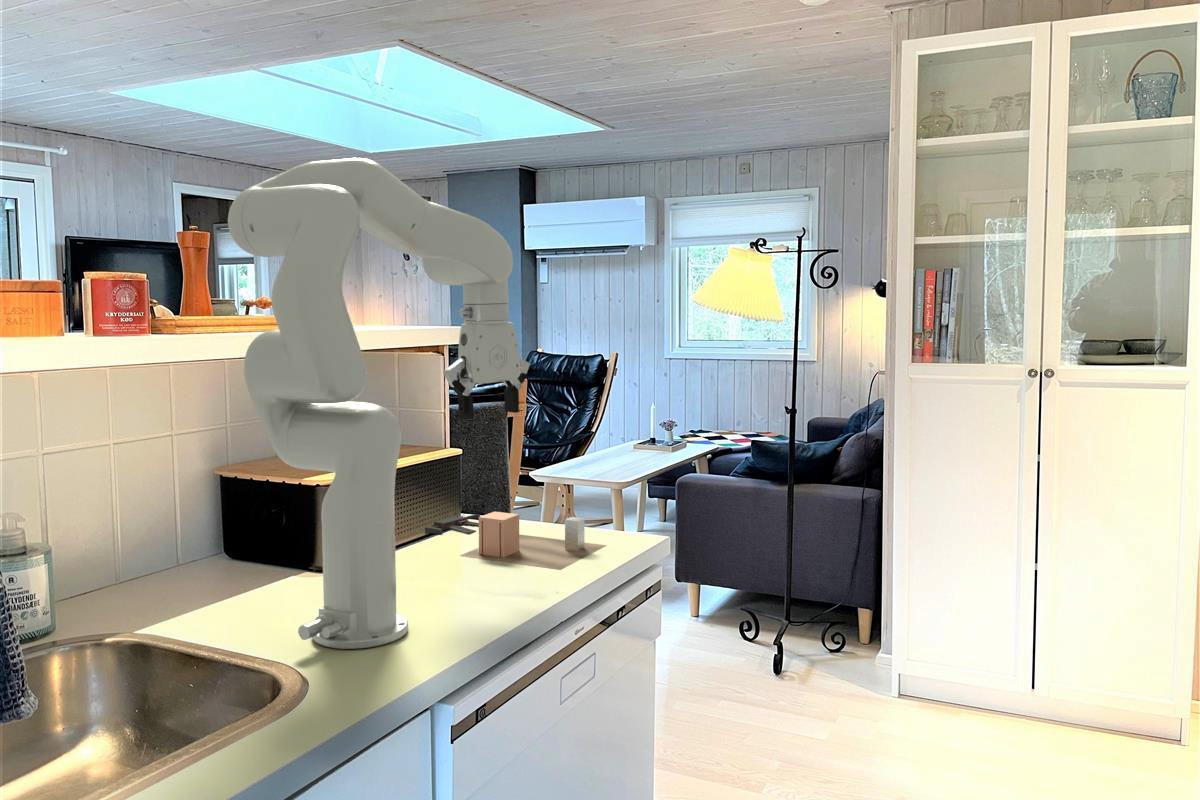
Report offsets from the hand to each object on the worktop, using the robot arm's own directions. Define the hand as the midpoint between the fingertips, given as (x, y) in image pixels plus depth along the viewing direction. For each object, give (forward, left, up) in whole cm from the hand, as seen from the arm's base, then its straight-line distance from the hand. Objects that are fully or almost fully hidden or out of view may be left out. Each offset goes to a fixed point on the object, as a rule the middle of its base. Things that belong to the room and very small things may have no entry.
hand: (489, 415), depth 151 cm
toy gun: (+20, +18, -27) cm, 38 cm away
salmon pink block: (+4, +1, -25) cm, 25 cm away
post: (+12, -10, -27) cm, 31 cm away
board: (+8, -4, -27) cm, 28 cm away
